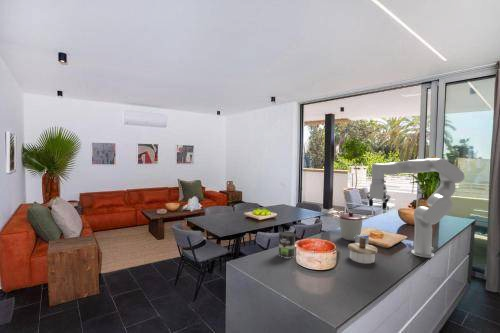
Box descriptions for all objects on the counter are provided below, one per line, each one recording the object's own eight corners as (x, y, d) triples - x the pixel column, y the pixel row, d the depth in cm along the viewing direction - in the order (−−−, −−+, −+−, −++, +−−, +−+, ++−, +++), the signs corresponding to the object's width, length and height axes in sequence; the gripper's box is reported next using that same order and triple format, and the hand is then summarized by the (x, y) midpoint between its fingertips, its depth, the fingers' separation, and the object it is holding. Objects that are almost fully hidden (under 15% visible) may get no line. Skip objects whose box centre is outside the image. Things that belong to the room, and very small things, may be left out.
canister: (333, 237, 207) (333, 210, 206) (349, 234, 215) (349, 209, 215) (351, 244, 191) (352, 215, 190) (368, 240, 199) (368, 213, 199)
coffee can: (291, 259, 161) (292, 237, 160) (276, 256, 166) (276, 234, 165) (296, 254, 170) (297, 232, 169) (282, 251, 175) (282, 230, 174)
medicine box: (358, 249, 181) (359, 236, 180) (354, 246, 185) (355, 234, 185) (368, 248, 183) (368, 235, 183) (364, 246, 187) (364, 234, 187)
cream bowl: (359, 253, 172) (360, 244, 172) (379, 260, 160) (379, 251, 160) (345, 257, 166) (345, 247, 165) (364, 265, 153) (364, 255, 153)
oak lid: (359, 243, 174) (359, 232, 174) (383, 251, 160) (383, 239, 159) (342, 247, 166) (342, 236, 166) (365, 256, 151) (365, 244, 151)
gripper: (393, 182, 169) (393, 208, 169) (369, 180, 184) (369, 204, 184) (386, 183, 165) (386, 210, 166) (362, 181, 180) (362, 205, 181)
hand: (377, 207), depth 175 cm, fingers open, 9 cm apart
